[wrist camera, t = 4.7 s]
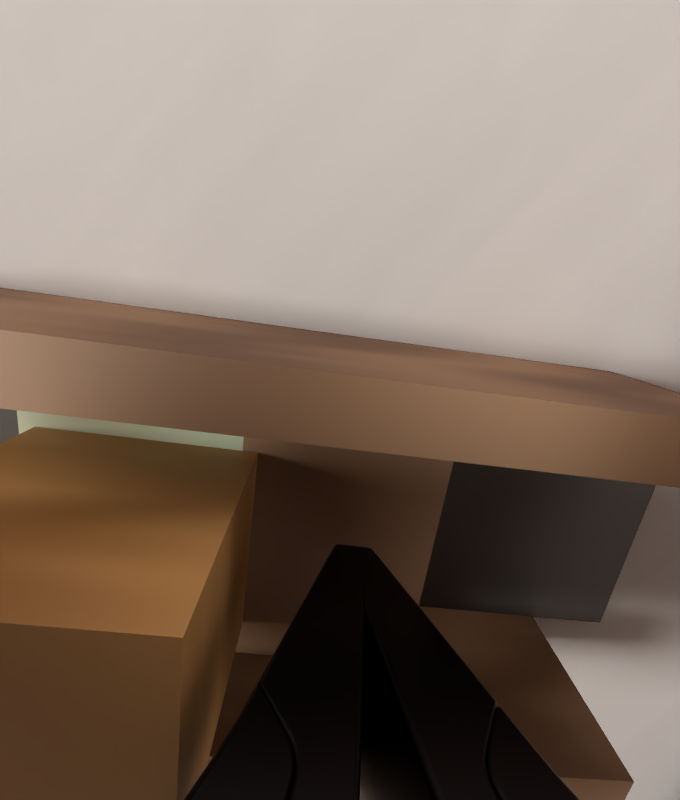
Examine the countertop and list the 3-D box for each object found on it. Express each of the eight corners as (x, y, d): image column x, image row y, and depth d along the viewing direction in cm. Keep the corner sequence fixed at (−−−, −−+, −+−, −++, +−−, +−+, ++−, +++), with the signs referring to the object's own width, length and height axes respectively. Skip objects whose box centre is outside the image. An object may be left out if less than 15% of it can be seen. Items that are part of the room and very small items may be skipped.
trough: (689, 382, 9) (940, 451, 6) (584, 643, 12) (711, 821, 8) (-229, 256, 8) (-745, 231, 4) (-147, 581, 10) (-432, 761, 6)
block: (258, 452, 7) (182, 637, 4) (242, 621, 8) (173, 901, 5) (34, 426, 7) (-310, 597, 3) (49, 604, 8) (-195, 888, 4)
